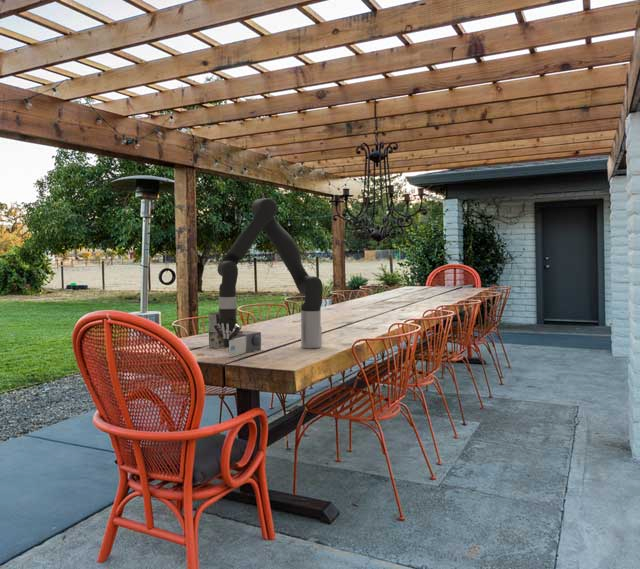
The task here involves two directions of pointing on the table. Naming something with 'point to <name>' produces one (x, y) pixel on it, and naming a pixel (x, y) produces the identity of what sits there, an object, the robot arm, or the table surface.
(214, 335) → the coffee box
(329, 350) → the table surface
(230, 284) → the robot arm
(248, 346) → the block
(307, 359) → the table surface
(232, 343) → the side door
